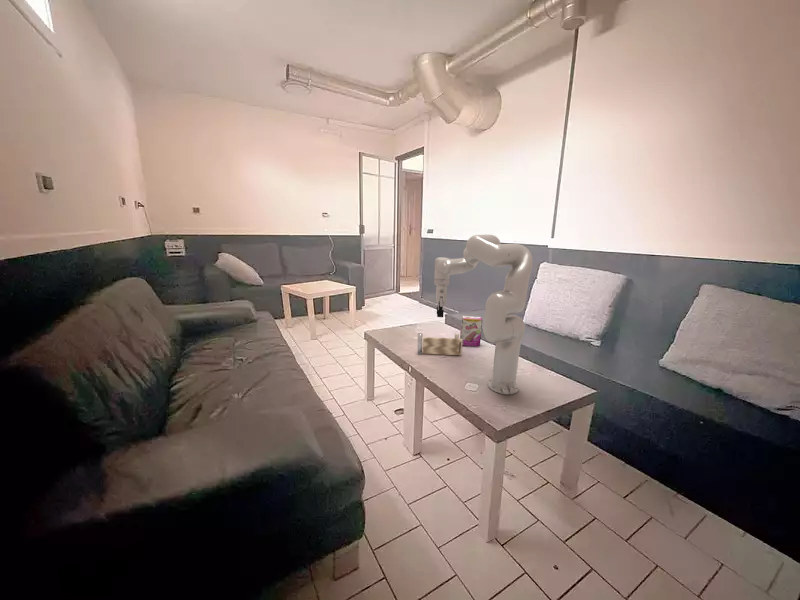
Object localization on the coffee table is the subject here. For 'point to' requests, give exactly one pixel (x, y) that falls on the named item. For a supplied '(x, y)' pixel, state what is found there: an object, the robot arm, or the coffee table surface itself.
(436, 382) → the coffee table surface
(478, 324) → the candy bar box
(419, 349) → the hinge post
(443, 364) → the coffee table surface
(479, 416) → the coffee table surface
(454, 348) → the gate
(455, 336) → the post
